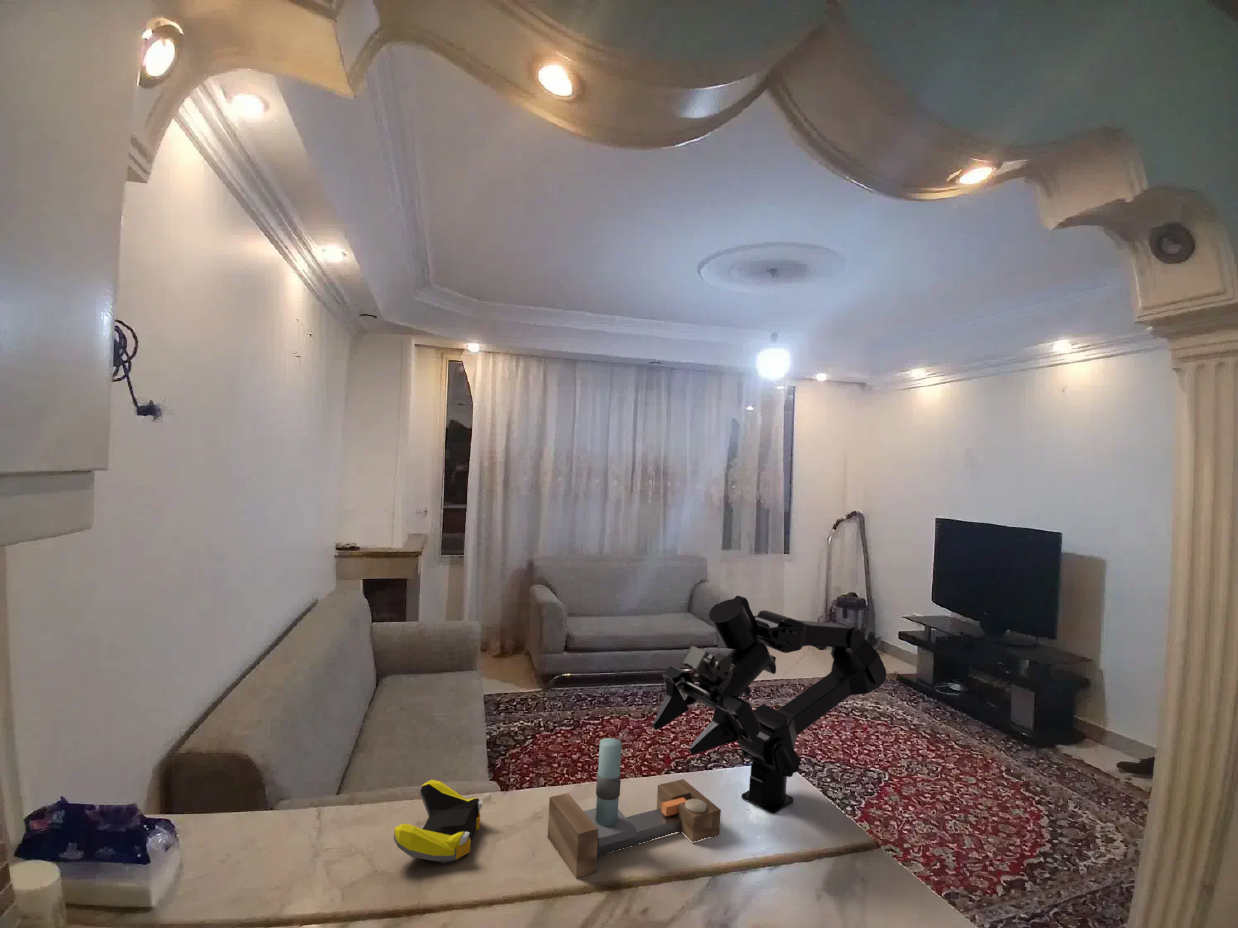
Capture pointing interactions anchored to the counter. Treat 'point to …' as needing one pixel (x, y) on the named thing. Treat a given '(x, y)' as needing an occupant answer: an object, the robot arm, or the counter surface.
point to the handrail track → (646, 829)
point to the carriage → (609, 796)
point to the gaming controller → (441, 825)
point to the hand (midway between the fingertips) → (671, 739)
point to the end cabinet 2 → (691, 810)
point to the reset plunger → (671, 806)
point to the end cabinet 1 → (573, 834)
